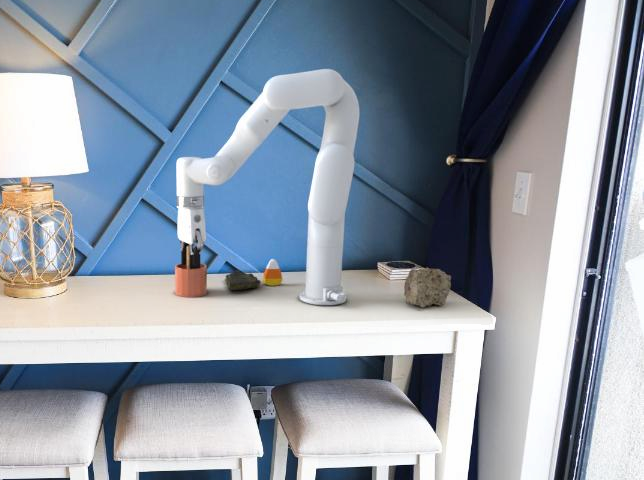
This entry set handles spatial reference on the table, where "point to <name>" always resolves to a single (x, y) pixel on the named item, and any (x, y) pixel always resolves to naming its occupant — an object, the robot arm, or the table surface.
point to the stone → (241, 280)
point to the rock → (427, 287)
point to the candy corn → (272, 274)
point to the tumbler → (190, 281)
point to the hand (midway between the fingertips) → (190, 265)
